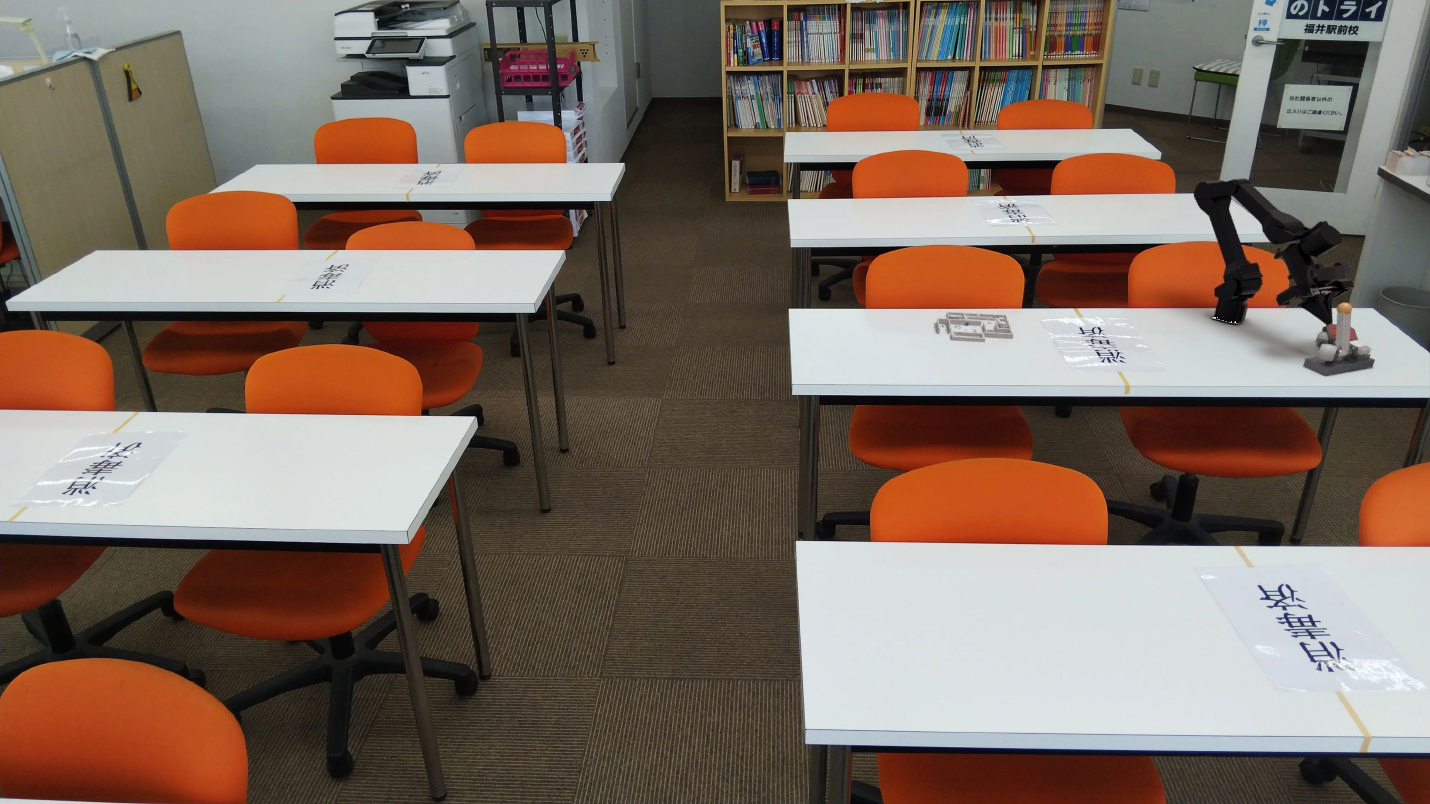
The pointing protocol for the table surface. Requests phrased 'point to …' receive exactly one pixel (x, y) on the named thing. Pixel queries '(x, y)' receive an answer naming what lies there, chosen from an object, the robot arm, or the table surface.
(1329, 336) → the walkie-talkie
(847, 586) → the table surface
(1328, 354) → the push button
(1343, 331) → the ball-topped post
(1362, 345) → the white block
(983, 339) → the floor plan model
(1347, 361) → the slide switch base
